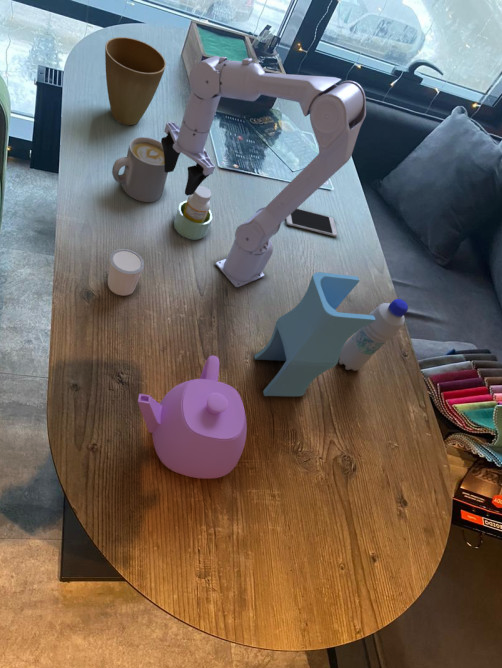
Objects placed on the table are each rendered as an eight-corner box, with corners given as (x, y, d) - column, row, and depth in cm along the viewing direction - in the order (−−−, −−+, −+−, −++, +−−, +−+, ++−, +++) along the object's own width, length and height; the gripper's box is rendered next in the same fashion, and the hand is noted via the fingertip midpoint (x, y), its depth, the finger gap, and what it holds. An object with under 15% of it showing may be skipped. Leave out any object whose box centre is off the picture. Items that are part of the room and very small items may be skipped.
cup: (192, 212, 124) (198, 197, 120) (213, 234, 122) (219, 220, 118) (166, 219, 120) (171, 204, 116) (187, 243, 118) (192, 228, 114)
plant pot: (96, 94, 137) (105, 30, 124) (150, 108, 142) (163, 47, 129) (96, 127, 130) (105, 62, 117) (153, 140, 134) (168, 78, 122)
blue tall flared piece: (306, 396, 104) (376, 320, 84) (264, 395, 101) (326, 316, 81) (295, 357, 109) (358, 276, 89) (253, 355, 106) (310, 270, 86)
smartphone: (284, 204, 136) (333, 217, 140) (283, 206, 137) (332, 219, 141) (287, 223, 132) (337, 235, 136) (286, 225, 133) (336, 237, 137)
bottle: (362, 357, 116) (418, 299, 99) (358, 379, 112) (416, 322, 96) (336, 345, 115) (388, 284, 99) (331, 365, 111) (385, 306, 95)
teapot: (131, 378, 94) (149, 328, 82) (233, 398, 98) (263, 353, 86) (119, 476, 83) (136, 435, 71) (233, 493, 88) (268, 457, 76)
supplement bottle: (191, 236, 118) (204, 202, 111) (175, 222, 119) (186, 188, 111) (206, 228, 121) (218, 195, 114) (189, 214, 122) (201, 180, 114)
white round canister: (132, 302, 103) (139, 278, 98) (100, 290, 102) (105, 265, 97) (141, 280, 107) (148, 255, 101) (110, 268, 106) (115, 243, 100)
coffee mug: (156, 176, 127) (166, 139, 119) (166, 203, 123) (176, 167, 115) (104, 171, 122) (110, 132, 114) (112, 200, 117) (119, 161, 109)
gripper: (159, 103, 100) (145, 164, 111) (203, 150, 96) (184, 208, 107) (186, 100, 104) (170, 159, 115) (230, 144, 100) (208, 201, 111)
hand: (178, 182), depth 111 cm, fingers open, 7 cm apart
